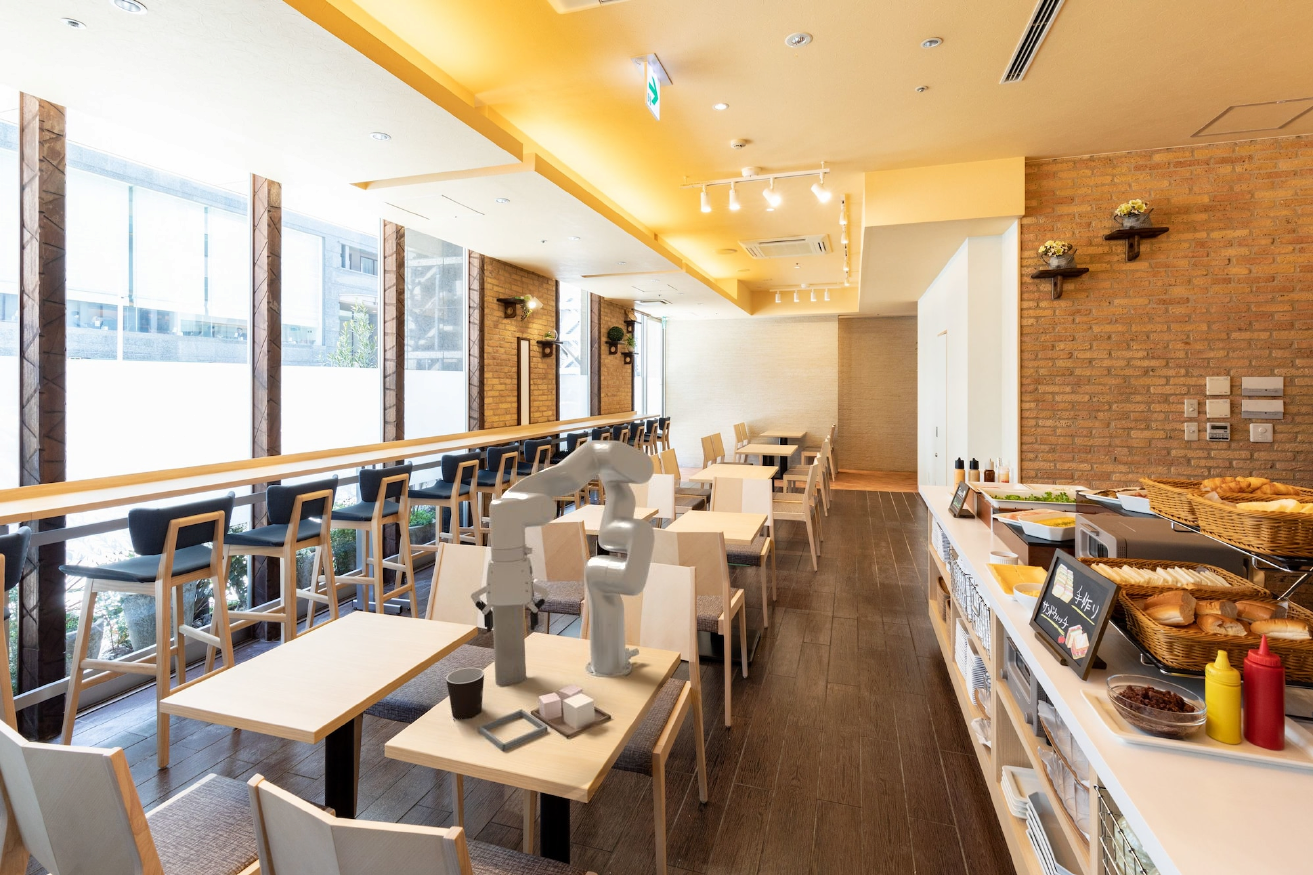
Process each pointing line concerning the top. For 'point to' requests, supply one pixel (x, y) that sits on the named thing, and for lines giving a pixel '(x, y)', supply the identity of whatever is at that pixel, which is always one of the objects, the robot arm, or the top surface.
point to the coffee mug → (465, 692)
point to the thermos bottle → (509, 645)
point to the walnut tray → (566, 729)
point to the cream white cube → (578, 711)
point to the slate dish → (504, 746)
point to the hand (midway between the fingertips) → (511, 629)
